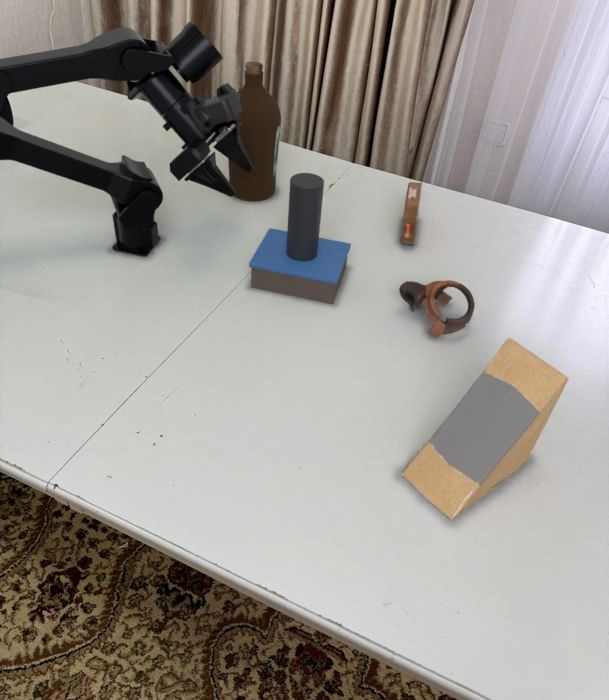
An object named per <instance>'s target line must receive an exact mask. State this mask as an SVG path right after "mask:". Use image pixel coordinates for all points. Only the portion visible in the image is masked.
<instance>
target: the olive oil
mask: <svg viewBox="0 0 609 700" xmlns="http://www.w3.org/2000/svg"><path fill="white" fill-rule="evenodd" d="M244 64H245V65H244V66H245V67H244V68H245V70H244V84H243V85H242V86H241V88H240V89H238V91H236V92H237V93H239V94H240V95H241V98H240V99H239V103H240V105H241V108H242V110H243V111H242V112H241V113H240V114H241V115H242V117H241V118H240V119H239V120H238V122H236V123H235V124H234V125H235V126H236V125H237V124H238V123H239V122H240V121H241V122H242V125H241V129H240V138H241V141H242V143H243V146H244V148H245V150H246V153H247V155H248V157H249V159H250V162H251V164H252V166H253V170H252V171H251V172H247V171H245V170H244V169H242V168H241V167H239V166H238V165H237V164H235V163H234V162H232V161H231V160H230V159H228V158H227V162H228V181H229V183H230V184H231V185H232V187H233V189H234V190H235V192H236V194H235V195H234V196H233V197H235V198H237V199H240V200H243V201H249V202H259V201H260V202H261V201H264V200H265V201H266V200H267V199H270V198H271V197H272V196H274V194H275V192H276V183H277V171H278V159H279V158H278V157H279V149H280V148H279V146H280V139H281V137H280V136H281V127H282V115H281V110H280V106H279V104H278V102H277V100H276V99H275V98H274V97H273V95H271V93H270V92H269V91H268V90H267V89H266V88H265V86H264V71H263V68H264V65H263V63H262V62H259V61H254V60H253V61H246V62H245V63H244Z"/></svg>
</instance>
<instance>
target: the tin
mask: <svg viewBox="0 0 609 700" xmlns="http://www.w3.org/2000/svg"><path fill="white" fill-rule="evenodd" d="M407 184H408V185H407V189H406V194H405V195H406V196H405V202H404V210H403V217H402V218H403V219H402V230H401V235H400V243H401V244H406V245H407V244H408V245H413V246H414V245H415V242H416V233H417V227H418V217H419V209H420V203H421V195H422V188H423V187H422V186H423V182H413V181H410V182H408V183H407Z"/></svg>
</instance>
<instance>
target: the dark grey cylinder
mask: <svg viewBox="0 0 609 700" xmlns="http://www.w3.org/2000/svg"><path fill="white" fill-rule="evenodd" d="M324 188H325V180H324V178H323V177H322V176H320V175H318V174H315V173H311V172H299V173H296V174H295V173H294V174H293V175H292V176H291V177H290V179H289V191H288V192H289V193H288V209H287V211H288V212H287V230H286V231H287V245H286V254H287V255H288V257H290V258H291V259H293V260H296V261H310V260H313V259H314V258H315V257H316V256H317V252H318V242H319V238H320V231H321V220H322V219H321V218H322V209H323V199H324Z"/></svg>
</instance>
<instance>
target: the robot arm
mask: <svg viewBox="0 0 609 700" xmlns="http://www.w3.org/2000/svg"><path fill="white" fill-rule="evenodd" d="M223 60H224V57H223V55H222V53H220V51H219V50H218V49H217V48H216V47H215V45H214V44H213V42H211V41H210V40H209V38H207V36H205V34H204V33H202V31H201V30H200V29H199V28H198V26H197V25H196V24H195V23H194V22H193V21H192V20H190V21H188V22H187V23H186V24H185V25H184V27H183V28H182V29H181V31H180V32H179V33H178V34H177V35H176V36H175V37H174V38H173V39H172V40H171V41H170V42H169V43H168V44H167V45H165V44H164V42H163V41H159V40H155V39H151V38H146V37H142V36H141V34H140V33H138V32H137V31H136V30H134V29H133V28H131V27H126V26H125V27H124V26H121V27H118V28H115V29H112V30H110V31H107V32H105V33H102V34H99V35H98V36H95V37H94V38H92V39H90V40H89V41H87V42H85V43H82V44H79V45H73V46H68V47H63V48H57V49H49V50H45V51H39V52H33V53H32V52H31V53H28V54H21V55H15V56H9V57H3V58H0V112H2V109H3V106H4V104H5V102H6V100H7V98H8V96H9V95H11V94H14V93H20V92H25V91H30V90H35V89H41V88H47V87H52V86H57V85H64V84H69V83H74V82H80V81H85V80H90V79H91V80H92V79H93V80H94V79H98V80H105V81H110V82H126V86H127V100H129V101H135V100H136V99H137V98H138V97H139V96H140V95H141V96H142V97H143V98H144V99H145V101H146V102H147V103H148V104H149V105H150V106H151V107H152V108H153V109H154V111H156V113H157V114H158V115H159V116H160V118H162V119H163V120H164V122H165V123H164V124H163V125H162V128H163V129H164V130H165V131H166V132H168V131H169V130H171V129H172V131H173V132H174V133H175V134H176V135H177V136H178V137H179V139H180V140H181V141H182V142H183V143H184V144H183V145H181V149H182V150H181V151H180V153H177V155H176V156H175V157H174V158H173V159H172V160H171V161H170V163H169V172H170V174H172V176H173V177H174V178H175V179H176V180H177V181H178V182H180V181H181V180H182V179H183V180H184V181H185V182H188V181H190V182H193V183H196V184H199V185H201V186H204V187H206V188H209V189H212V190H213V191H216V192H218V193H221V194H223V195H224V196H225V195H226V196H227V197H230V198H232V197H235V196H234V195H235V194H236V192H235V190H234V189H233V187H232V185H231V184H230V183H229V179H228V178H227V177H226V176H225V174H224V173H223V172H222V170H221V169H220V168H219V166H218V165H217V158H216V157H217V156H216V151H217V152H219V153H220V154H222V155H223V156H224V157H225V158H227V160H228V159H230V160H231V161H232V162H234V163H235V164H237V165H238V166H239V167H241V168H242V169H244V170H245V171H247V172H251V171H252V170H253V166H252V164H251V162H250V159H249V157H248V155H247V153H246V150H245V148H244V146H243V143H242V141H241V138H240V129H241V125H242V122H241V121H240V122H239V123H238V124H237V125H236V126H235V125H234V124H235V123H236V122H238V120H239V119H240V118H241V117H242V115H241V114H240V113H241V112H242V111H243V110H242V108H241V105H240V103H239V99H240V98H241V95H240V94H239V93H237V92H238V91H237V90H236V88H234V87H232V85H231V84H230V83H228V82H226V83H224V84H221V85H219V86H218V87H217V88H216V95H213V96H212V97H211V98H209V99H205V98H203V96H201V94H198V93H196V94H195V95H194V96H193V95H192V93H190V91H188V89H187V88H186V87H185V86H184V85H183V84H182V83H181V81H180V80H179V79H178V78H177V76H176V75H175V74H174V73H173V72H172V70H171V69H169V68H171V67H172V68H173V69H174V70H175V72H176V73H177V74H178V75H179V76H180V77H181V78H182V79H183V80H184V82H185V83H186V84H188V83H189V82H190V83H191V84H192V85H194V84H195V83H196V84H198V83H199V82H201V80H202V79H203V78H204V77H205V76H206V75H207V74H209V73H210V72H211V71H212V70H213V69H214V68H215V67H216V66H217V65H218V64H219V63H220V62H221V61H223ZM215 142H216V143H215ZM213 143H215V144H214V145H213V146H212V148H213V149H214V150H216V151H213V152H212V153H211V148H210V146H211V145H212V144H213ZM210 153H211V154H210ZM0 161H13V162H16V163H20V164H23V165H25V166H28V167H31V168H34V169H38V170H40V171H44V172H46V173H49V174H51V175H55V176H58V177H60V178H64V179H67V180H70V181H73V182H76V183H79V184H82V185H85V186H88V187H91V188H94V189H97V190H100V191H102V192H104V193H106V194H107V195H109V196H110V198H111V201H112V205H113V207H114V210H115V211H114V212H113V213H112V214H111V215H112V222H113V228H114V235H115V243H114V244H113V246H112V247H111V248H112V251H115V252H120V253H125V254H130V255H134V256H140V257H148V255H150V253H151V252H152V251H153V249H154V248H155V247H156V246H157V245H158V244H159V242H160V241H161V239H162V238H161V236H160V235H159V227H158V221H155V214H156V210H157V209H159V208H160V206H161V205H162V203H163V200H164V193H163V191H162V188H161V186H160V184H159V182H158V180H157V178H156V176H155V174H154V172H153V171H152V170H151V169H150V168H149V167H148V166H147V165H146V162H145V161H137V160H134V159H133V158H130V157H129V156H127V155H124V154H122V155H121V157H120V162H118V161H117V162H109V161H105V160H102V159H100V158H96V157H94V156H91V155H89V154H86V153H84V152H80V151H78V150H76V149H72V148H70V147H67V146H65V145H61V144H59V143H55V142H53V141H50V140H47V139H45V138H42V137H39V136H37V135H34V134H32V133H29V132H25V131H23V130H21V129H18V128H16V127H15V126H14V125H13V124H11V123H10V122H8V121H7V120H6V119H5V118H3V117H1V116H0Z"/></svg>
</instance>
